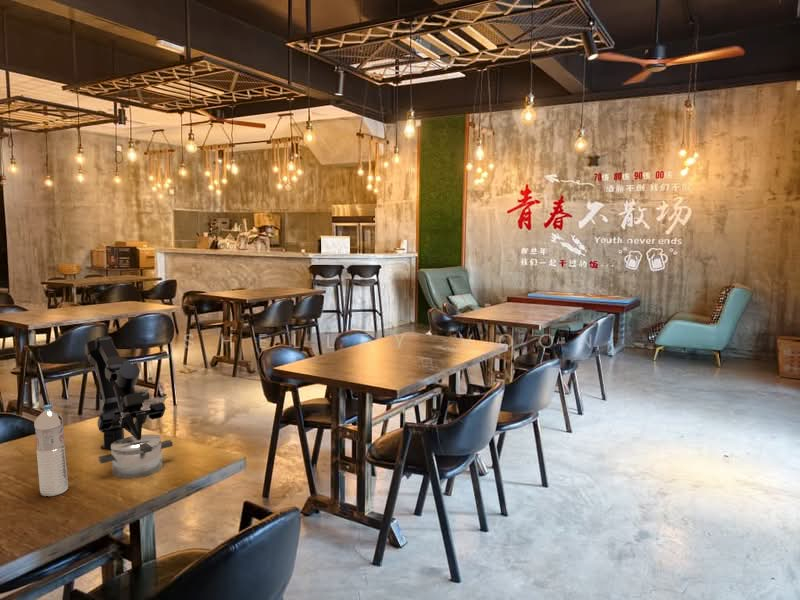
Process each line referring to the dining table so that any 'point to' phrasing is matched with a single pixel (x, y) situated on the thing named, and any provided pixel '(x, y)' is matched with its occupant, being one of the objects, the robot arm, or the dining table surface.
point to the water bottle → (51, 453)
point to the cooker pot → (136, 461)
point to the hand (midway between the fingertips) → (139, 439)
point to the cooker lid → (136, 443)
